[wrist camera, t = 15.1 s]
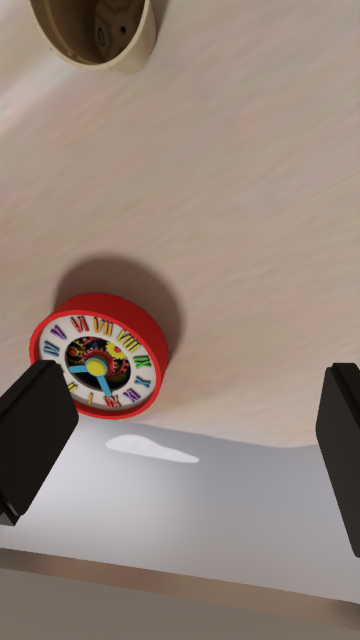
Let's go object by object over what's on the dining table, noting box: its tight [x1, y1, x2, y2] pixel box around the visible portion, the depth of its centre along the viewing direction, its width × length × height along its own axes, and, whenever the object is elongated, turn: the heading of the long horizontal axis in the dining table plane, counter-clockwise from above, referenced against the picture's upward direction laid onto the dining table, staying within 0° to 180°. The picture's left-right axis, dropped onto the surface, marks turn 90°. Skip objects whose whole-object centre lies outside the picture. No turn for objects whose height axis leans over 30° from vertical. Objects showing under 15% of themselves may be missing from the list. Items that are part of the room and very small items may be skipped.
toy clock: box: [29, 293, 168, 420], centre depth 44 cm, size 20×6×20 cm
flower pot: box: [26, 0, 156, 73], centre depth 23 cm, size 9×9×9 cm
